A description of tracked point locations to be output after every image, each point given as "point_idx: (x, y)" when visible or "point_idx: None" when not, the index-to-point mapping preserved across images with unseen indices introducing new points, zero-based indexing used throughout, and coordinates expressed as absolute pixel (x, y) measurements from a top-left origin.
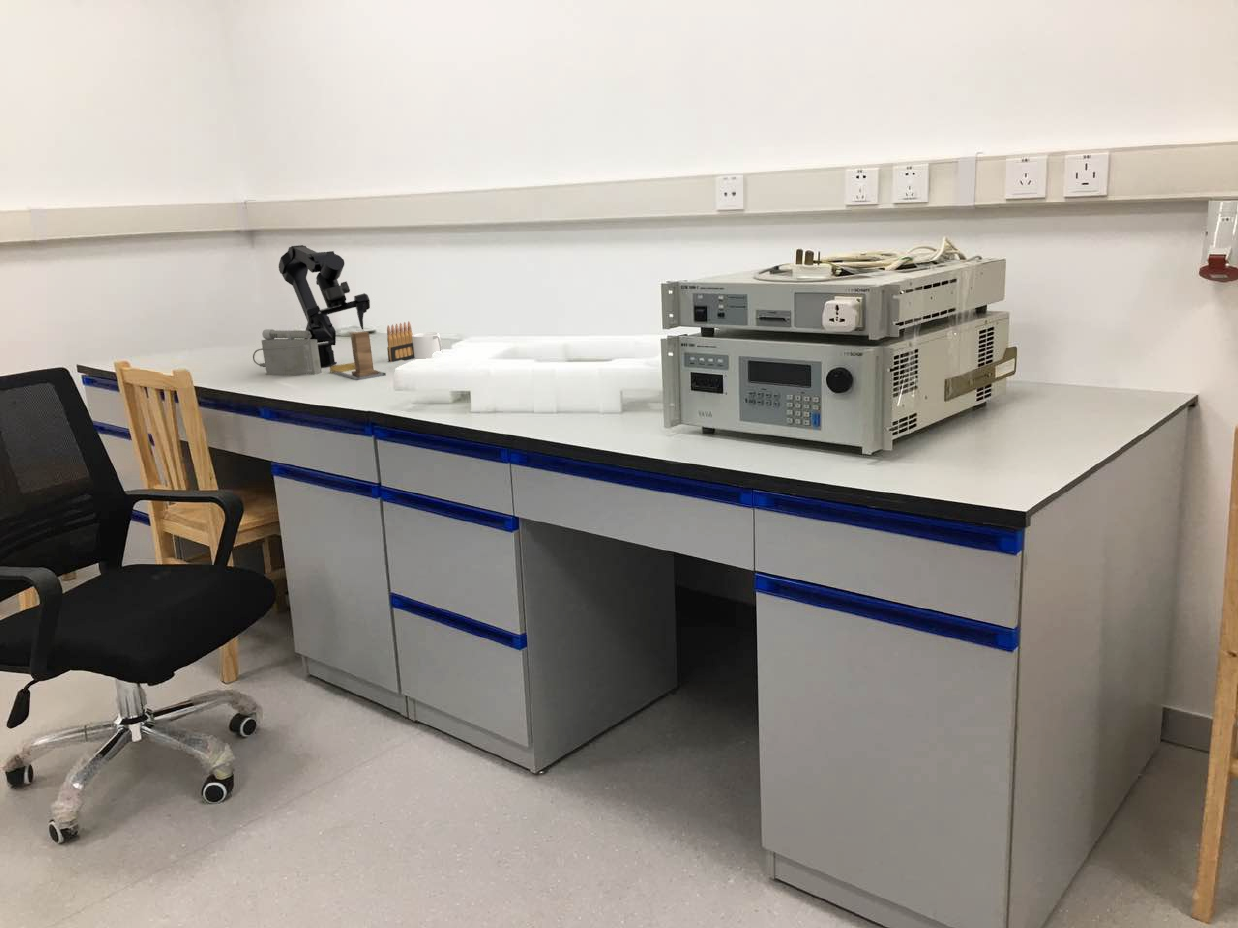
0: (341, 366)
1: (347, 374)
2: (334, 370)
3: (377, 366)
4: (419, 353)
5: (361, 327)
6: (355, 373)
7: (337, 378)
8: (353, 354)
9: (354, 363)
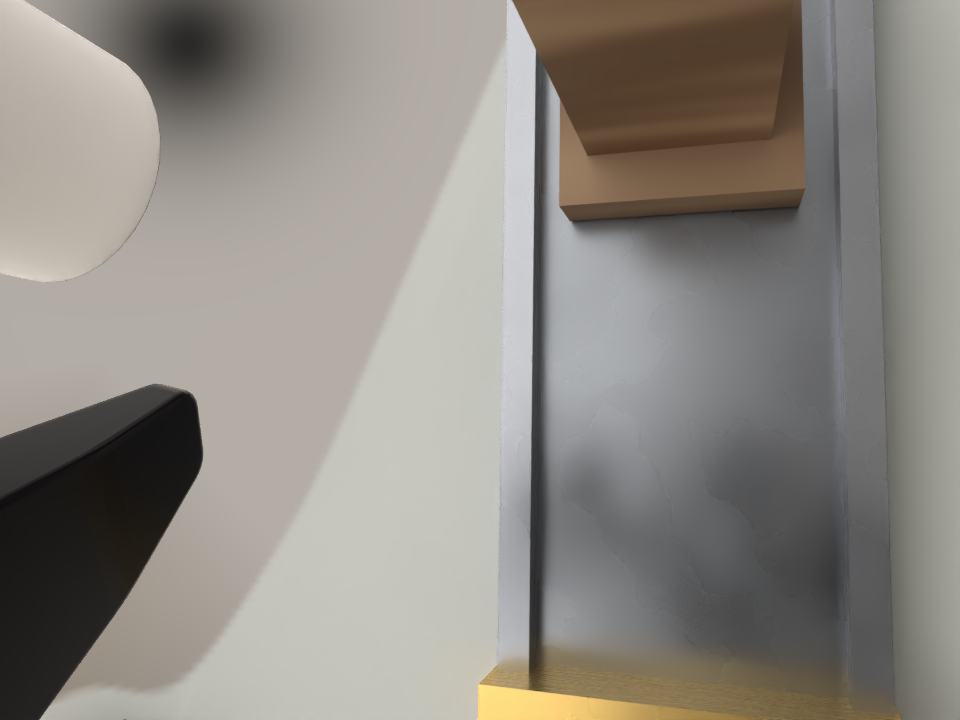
0: (749, 712)
1: (861, 213)
2: (865, 707)
3: (291, 706)
4: (20, 23)
5: (175, 443)
6: (802, 73)
7: (949, 363)
8: (788, 16)
9: (778, 92)
